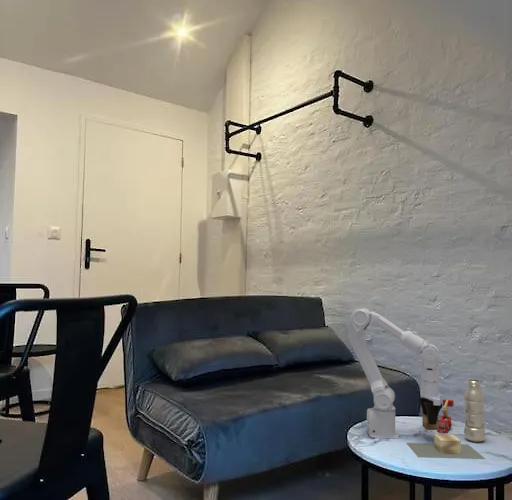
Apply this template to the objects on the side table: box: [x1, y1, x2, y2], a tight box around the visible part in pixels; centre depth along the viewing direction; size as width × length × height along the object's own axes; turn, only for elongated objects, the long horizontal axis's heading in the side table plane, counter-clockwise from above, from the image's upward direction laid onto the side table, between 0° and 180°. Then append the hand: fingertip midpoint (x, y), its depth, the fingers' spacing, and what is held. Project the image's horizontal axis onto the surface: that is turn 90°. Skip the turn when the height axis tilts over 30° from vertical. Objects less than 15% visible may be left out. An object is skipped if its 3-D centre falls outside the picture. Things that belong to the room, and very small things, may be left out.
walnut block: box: [421, 413, 439, 431], centre depth 161 cm, size 4×4×4 cm
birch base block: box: [433, 433, 462, 454], centre depth 151 cm, size 6×6×4 cm
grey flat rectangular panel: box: [406, 442, 486, 460], centre depth 151 cm, size 20×13×1 cm, turn 88°
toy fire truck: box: [436, 398, 454, 434], centre depth 175 cm, size 3×14×10 cm, turn 148°
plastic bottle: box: [463, 378, 486, 443], centre depth 162 cm, size 6×7×20 cm
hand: (430, 422), depth 161 cm, fingers closed on walnut block, 4 cm apart
